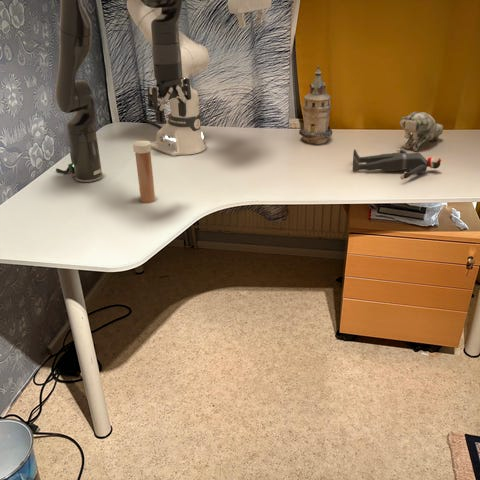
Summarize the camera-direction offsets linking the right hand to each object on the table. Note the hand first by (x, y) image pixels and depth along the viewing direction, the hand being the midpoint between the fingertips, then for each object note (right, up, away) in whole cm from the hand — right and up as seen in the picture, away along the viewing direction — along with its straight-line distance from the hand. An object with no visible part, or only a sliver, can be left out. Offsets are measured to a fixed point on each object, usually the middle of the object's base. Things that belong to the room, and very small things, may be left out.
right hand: (250, 25), depth 175 cm
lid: (-33, -41, -11) cm, 54 cm away
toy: (+52, -45, +17) cm, 71 cm away
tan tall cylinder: (-33, -57, -2) cm, 66 cm away
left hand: (-23, -36, -24) cm, 49 cm away
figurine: (+68, -32, +38) cm, 85 cm away
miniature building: (+28, -29, +46) cm, 61 cm away
